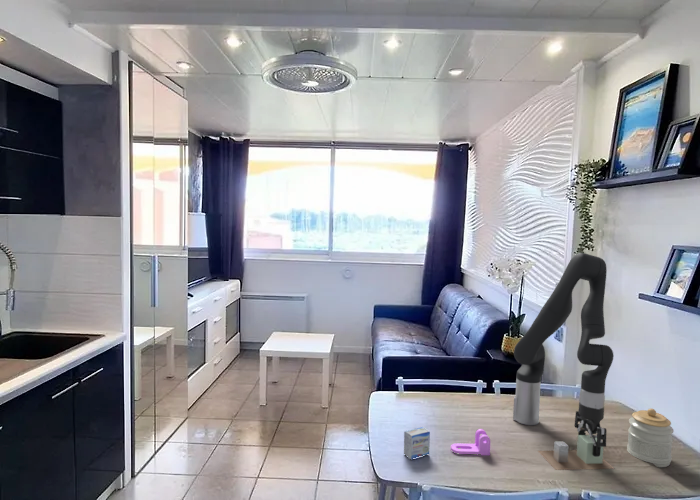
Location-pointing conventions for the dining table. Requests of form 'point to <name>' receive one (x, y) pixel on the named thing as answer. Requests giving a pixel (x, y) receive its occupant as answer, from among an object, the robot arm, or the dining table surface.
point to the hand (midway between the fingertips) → (588, 449)
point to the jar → (650, 437)
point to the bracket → (474, 445)
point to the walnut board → (572, 462)
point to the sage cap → (587, 450)
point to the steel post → (561, 451)
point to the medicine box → (416, 442)
